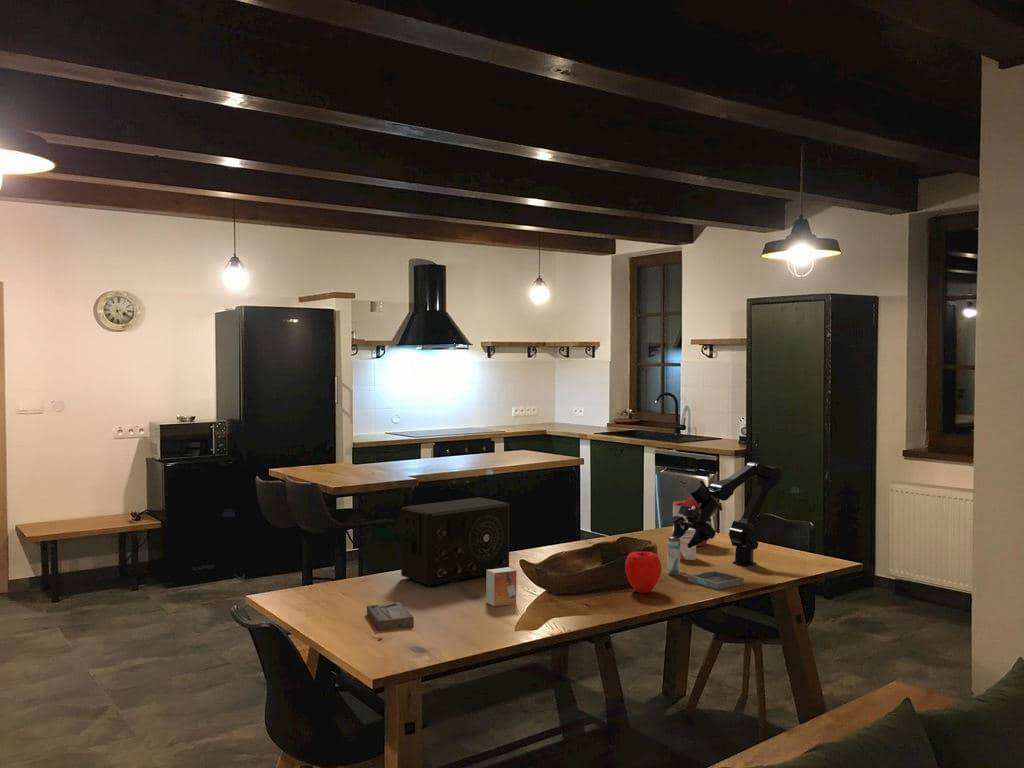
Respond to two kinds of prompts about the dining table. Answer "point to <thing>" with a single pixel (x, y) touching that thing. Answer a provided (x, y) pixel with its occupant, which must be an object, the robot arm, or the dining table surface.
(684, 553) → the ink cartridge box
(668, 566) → the canister
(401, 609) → the box
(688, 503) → the citrus juicer
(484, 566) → the vintage radio
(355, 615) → the dining table surface
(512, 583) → the small box
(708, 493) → the robot arm
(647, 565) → the apple
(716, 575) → the tray
